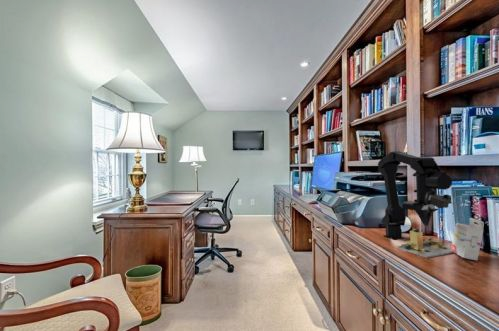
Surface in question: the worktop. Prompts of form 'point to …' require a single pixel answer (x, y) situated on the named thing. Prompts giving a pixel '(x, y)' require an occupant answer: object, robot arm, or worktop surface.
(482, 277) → the worktop surface
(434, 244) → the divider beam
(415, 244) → the slider
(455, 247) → the ink cartridge box
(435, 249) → the flange plate
